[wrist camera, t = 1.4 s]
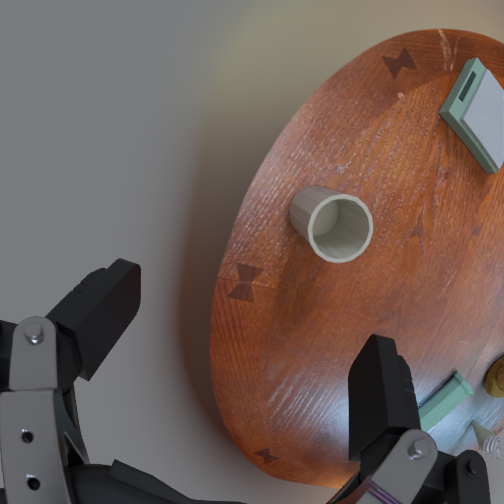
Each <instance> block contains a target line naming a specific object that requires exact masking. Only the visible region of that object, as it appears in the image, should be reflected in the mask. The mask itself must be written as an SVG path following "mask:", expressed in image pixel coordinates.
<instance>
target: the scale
mask: <svg viewBox="0 0 504 504" xmlns="http://www.w3.org/2000/svg"><path fill="white" fill-rule="evenodd" d="M438 113H439V114H440V115H441V116H442V118H443V119H444V120H445V121H446V122H447V123H448V124H449V126H450V127H451V128H452V129H453V130H454V132H455V133H456V134H457V135H458V136H459V138H460V139H461V140H462V141H463V143H464V144H465V145H466V147H467V148H468V149H469V150H470V152H471V153H472V154H473V156H474V157H475V158H476V160H477V161H478V163H479V164H480V165H481V167H482V168H483V170H484V171H485V172H488V173H495V174H496V172H497V170H498V169H500V168H501V165H502V163H503V161H504V90H503V89H502V87H501V86H500V85H499V83H498V82H497V80H496V79H495V78H494V76H493V75H492V74H491V72H490V71H489V70H488V69H486V68H485V67H484V66H483V64H482V63H481V62H480V61H479V59H478V58H473V59H470V60H467V62H466V64H465V65H464V67H463V69H462V71H461V73H460V75H459V77H458V79H457V80H456V82H455V84H454V86H453V88H452V89H451V91H450V93H449V95H448V97H447V98H446V100H445V102H444V104H443V105H442V107H441V109H440V111H439V112H438Z"/></svg>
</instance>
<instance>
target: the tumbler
mask: <svg viewBox="0 0 504 504" xmlns="http://www.w3.org/2000/svg"><path fill="white" fill-rule="evenodd" d="M289 217H290V221H291V224H292V226H293V227H294V229H295V230H296V232H297V233H298V234H299V235H300V236H301V237H302V238H303V240H304V241H305V242H306V243H307V244H308V245H309V246H310V247H311V249H312V250H313V251H314V252H315V253H316V254H317V255H319V256H320V257H321V258H323V259H324V260H326V261H329V262H334V263H343V262H347V261H351V260H353V259H354V258H356V257H357V256H359V255H360V254H361V253H363V251H364V250H365V248H366V247H367V246H368V244H369V243H370V240H371V236H372V233H373V222H372V216H371V214H370V212H369V210H368V208H367V206H366V205H365V204H364V203H363V202H362V201H360V200H359V199H358V198H357V197H354V196H351V195H348V194H345V193H342V192H338V191H335V190H332V189H329V188H325V187H321V186H310V187H306V188H304V189H302V190H301V191H299V192H298V193H297V194H296V195H295V197H294V198H293V200H292V202H291V204H290V209H289Z"/></svg>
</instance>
